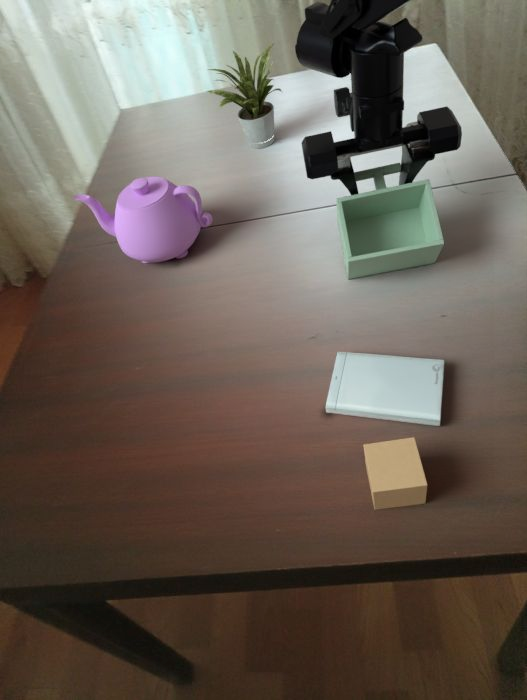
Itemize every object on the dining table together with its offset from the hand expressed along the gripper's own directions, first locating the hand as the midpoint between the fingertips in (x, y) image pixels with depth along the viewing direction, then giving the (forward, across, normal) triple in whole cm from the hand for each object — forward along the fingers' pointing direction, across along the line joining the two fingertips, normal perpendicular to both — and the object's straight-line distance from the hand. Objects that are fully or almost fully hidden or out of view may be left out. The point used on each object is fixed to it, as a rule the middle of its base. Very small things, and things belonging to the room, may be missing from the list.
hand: (379, 199), depth 68 cm
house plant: (+8, +16, -37) cm, 41 cm away
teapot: (+8, +35, -9) cm, 37 cm away
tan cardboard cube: (+6, +6, +38) cm, 39 cm away
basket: (+4, 0, +2) cm, 5 cm away
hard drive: (+7, +4, +26) cm, 28 cm away
